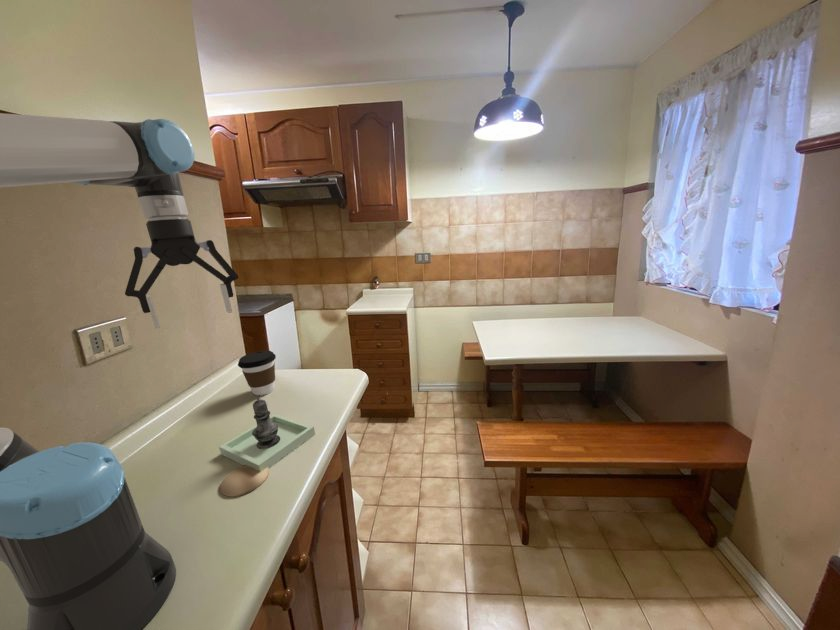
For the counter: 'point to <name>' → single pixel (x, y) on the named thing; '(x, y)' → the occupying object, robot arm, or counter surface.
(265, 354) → the coffee cup
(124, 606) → the robot arm
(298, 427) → the tray
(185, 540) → the counter surface
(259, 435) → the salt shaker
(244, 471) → the cork coaster
